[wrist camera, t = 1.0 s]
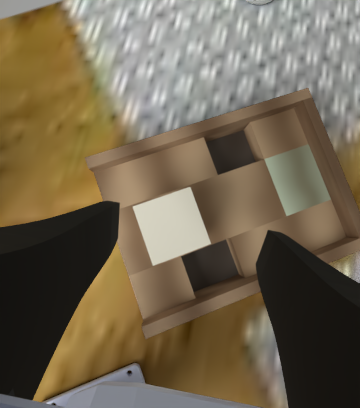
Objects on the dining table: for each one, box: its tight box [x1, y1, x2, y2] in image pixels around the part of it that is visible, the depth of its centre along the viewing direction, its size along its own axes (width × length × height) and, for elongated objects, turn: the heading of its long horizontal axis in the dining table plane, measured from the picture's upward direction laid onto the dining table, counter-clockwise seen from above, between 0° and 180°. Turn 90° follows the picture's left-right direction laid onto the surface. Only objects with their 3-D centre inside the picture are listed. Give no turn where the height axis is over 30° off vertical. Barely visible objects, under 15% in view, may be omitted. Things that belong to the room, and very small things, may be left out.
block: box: [133, 187, 211, 266], centre depth 19 cm, size 4×4×4 cm
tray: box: [85, 88, 360, 339], centre depth 22 cm, size 22×16×4 cm
